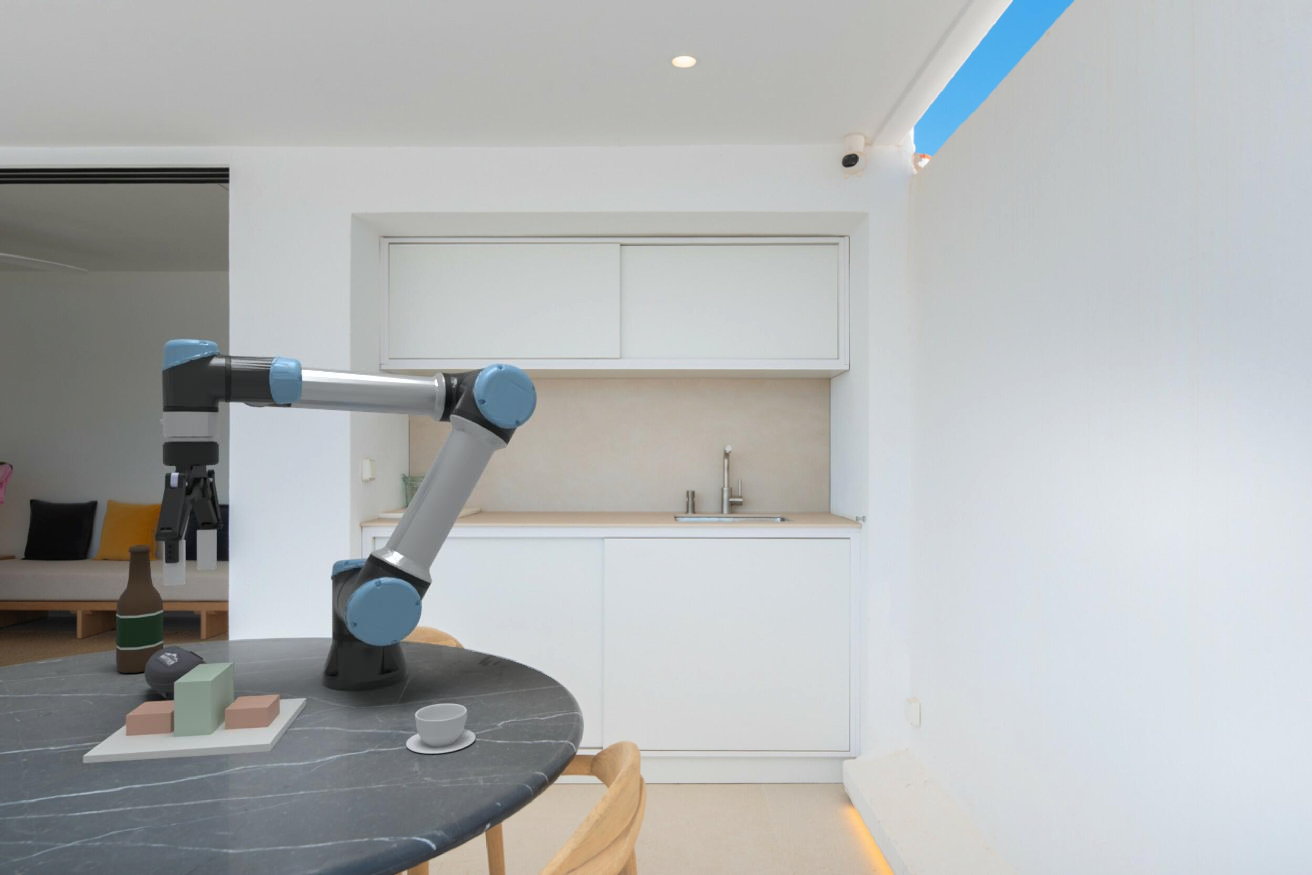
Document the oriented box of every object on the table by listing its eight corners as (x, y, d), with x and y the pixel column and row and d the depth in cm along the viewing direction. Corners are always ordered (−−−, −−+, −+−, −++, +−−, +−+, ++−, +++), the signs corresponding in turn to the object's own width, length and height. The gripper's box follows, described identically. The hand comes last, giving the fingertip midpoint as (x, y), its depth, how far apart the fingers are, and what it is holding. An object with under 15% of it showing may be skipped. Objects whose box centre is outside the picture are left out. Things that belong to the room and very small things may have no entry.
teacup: (439, 762, 109) (439, 728, 109) (391, 747, 114) (391, 715, 114) (489, 738, 117) (489, 707, 117) (443, 725, 123) (443, 696, 123)
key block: (199, 714, 124) (199, 663, 124) (233, 712, 125) (233, 662, 125) (174, 736, 114) (174, 682, 114) (211, 734, 115) (211, 680, 115)
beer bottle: (172, 663, 156) (172, 543, 156) (135, 675, 148) (135, 549, 148) (144, 660, 158) (144, 542, 158) (106, 671, 151) (106, 547, 151)
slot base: (306, 705, 132) (306, 680, 132) (269, 751, 112) (269, 722, 112) (149, 714, 127) (149, 688, 127) (83, 764, 108) (82, 734, 108)
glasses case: (133, 691, 139) (133, 648, 139) (199, 678, 146) (199, 637, 146) (163, 716, 126) (163, 668, 126) (233, 700, 134) (233, 655, 134)
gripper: (194, 440, 133) (194, 564, 133) (128, 440, 108) (128, 593, 108) (242, 439, 134) (242, 563, 134) (187, 440, 110) (188, 591, 110)
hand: (191, 577), depth 121 cm, fingers open, 13 cm apart
